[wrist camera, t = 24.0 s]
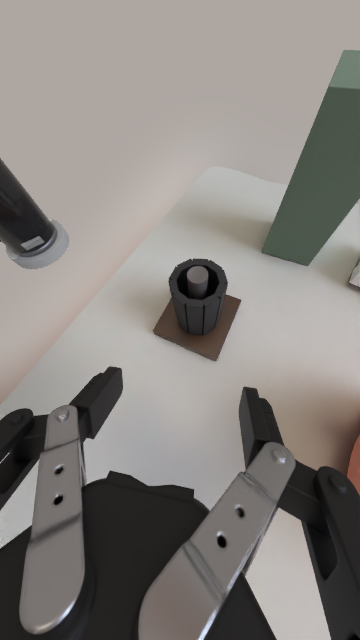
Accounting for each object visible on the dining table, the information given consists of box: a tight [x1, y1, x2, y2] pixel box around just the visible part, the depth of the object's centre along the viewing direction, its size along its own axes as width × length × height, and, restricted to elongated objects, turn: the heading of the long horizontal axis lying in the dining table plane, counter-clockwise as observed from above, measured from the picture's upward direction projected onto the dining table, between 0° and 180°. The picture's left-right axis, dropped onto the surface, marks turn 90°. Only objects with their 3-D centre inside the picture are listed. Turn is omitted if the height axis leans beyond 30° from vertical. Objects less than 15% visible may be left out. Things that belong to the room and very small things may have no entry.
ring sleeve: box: [169, 259, 228, 336], centre depth 23 cm, size 6×6×8 cm
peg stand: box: [153, 266, 241, 361], centre depth 23 cm, size 9×9×10 cm
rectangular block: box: [262, 50, 360, 266], centre depth 24 cm, size 7×7×18 cm
